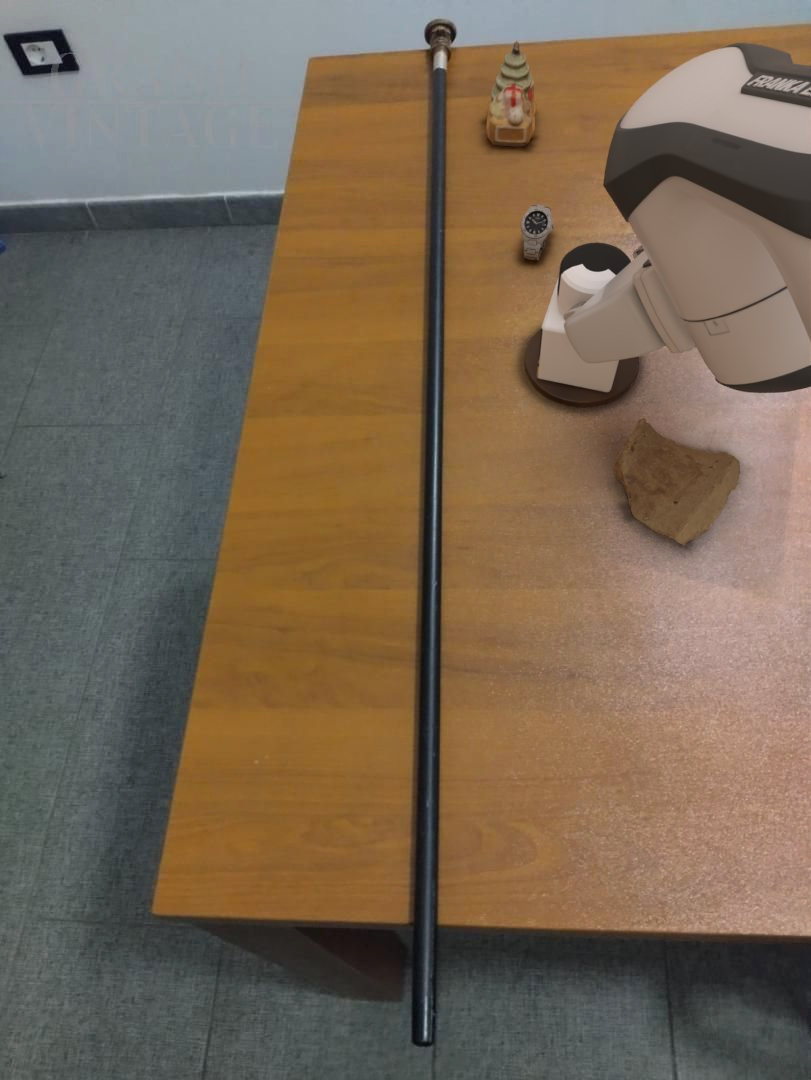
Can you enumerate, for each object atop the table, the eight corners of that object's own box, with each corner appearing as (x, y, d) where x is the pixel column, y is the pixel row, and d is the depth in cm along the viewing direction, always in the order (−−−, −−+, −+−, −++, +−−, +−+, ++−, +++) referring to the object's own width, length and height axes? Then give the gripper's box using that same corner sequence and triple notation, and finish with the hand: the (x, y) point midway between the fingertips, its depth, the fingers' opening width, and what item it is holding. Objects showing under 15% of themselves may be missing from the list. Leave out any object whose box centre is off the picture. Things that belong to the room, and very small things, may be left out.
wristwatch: (515, 264, 81) (517, 225, 77) (528, 225, 84) (531, 186, 79) (547, 269, 80) (550, 230, 76) (559, 230, 83) (564, 190, 78)
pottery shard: (737, 472, 68) (644, 410, 69) (762, 452, 64) (664, 387, 65) (679, 563, 65) (583, 497, 66) (702, 549, 61) (599, 478, 62)
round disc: (647, 332, 75) (648, 326, 74) (626, 417, 70) (628, 412, 69) (539, 313, 77) (539, 307, 77) (512, 394, 73) (512, 389, 72)
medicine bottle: (553, 326, 75) (565, 226, 65) (624, 339, 74) (648, 239, 63) (535, 379, 72) (544, 284, 62) (609, 394, 71) (632, 299, 60)
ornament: (537, 150, 90) (543, 64, 81) (486, 153, 90) (486, 69, 81) (534, 110, 93) (539, 23, 84) (484, 113, 94) (485, 28, 85)
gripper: (805, 126, 54) (663, 190, 66) (631, 285, 48) (511, 323, 61) (837, 205, 56) (694, 253, 69) (674, 366, 50) (549, 387, 63)
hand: (606, 287), depth 65 cm, fingers open, 8 cm apart
